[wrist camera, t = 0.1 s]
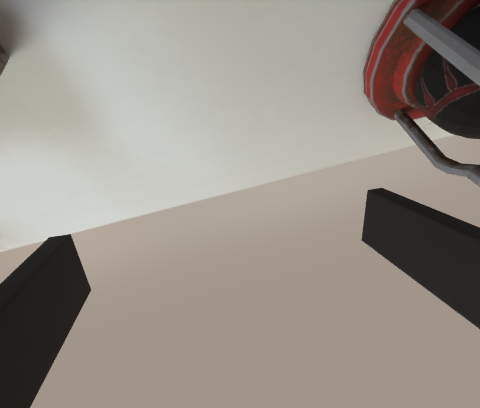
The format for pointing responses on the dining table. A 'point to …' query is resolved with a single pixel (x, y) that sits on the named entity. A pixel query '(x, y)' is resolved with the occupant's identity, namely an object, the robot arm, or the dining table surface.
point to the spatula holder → (3, 59)
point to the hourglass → (429, 73)
